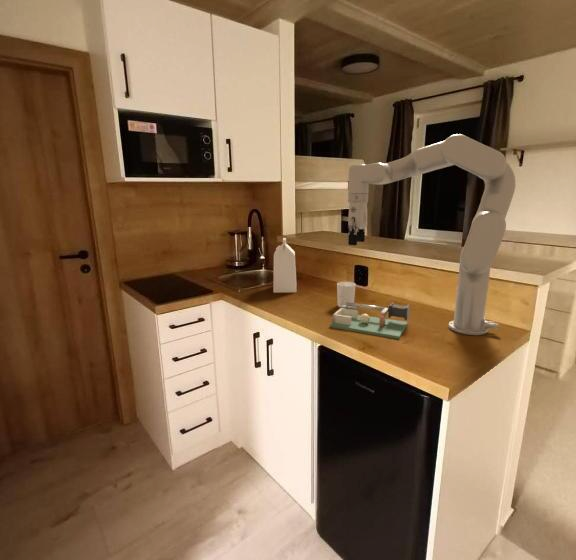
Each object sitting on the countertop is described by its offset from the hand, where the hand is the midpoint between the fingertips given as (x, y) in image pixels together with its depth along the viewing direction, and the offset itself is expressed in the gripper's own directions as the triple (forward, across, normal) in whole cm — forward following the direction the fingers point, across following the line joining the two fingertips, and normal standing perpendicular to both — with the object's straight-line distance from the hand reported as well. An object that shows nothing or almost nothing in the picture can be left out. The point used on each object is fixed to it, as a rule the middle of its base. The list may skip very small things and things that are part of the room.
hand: (356, 243), depth 140 cm
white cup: (+29, +7, +6) cm, 30 cm away
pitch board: (+29, -11, -9) cm, 32 cm away
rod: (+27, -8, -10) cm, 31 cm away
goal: (+29, -12, 0) cm, 31 cm away
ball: (+26, -12, -8) cm, 30 cm away
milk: (+29, +20, +43) cm, 56 cm away
